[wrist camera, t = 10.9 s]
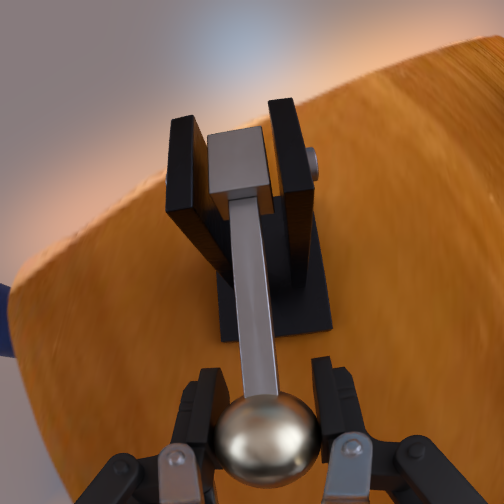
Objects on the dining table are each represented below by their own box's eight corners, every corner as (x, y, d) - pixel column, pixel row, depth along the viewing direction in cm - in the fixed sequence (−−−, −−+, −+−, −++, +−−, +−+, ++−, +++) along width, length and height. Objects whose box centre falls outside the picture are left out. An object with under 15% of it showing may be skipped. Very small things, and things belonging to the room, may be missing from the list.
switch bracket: (331, 330, 22) (384, 282, 8) (224, 343, 23) (122, 313, 9) (309, 198, 26) (311, 50, 12) (216, 212, 27) (147, 81, 13)
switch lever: (321, 463, 10) (328, 500, 7) (231, 469, 10) (207, 505, 7) (283, 164, 14) (277, 112, 11) (208, 176, 15) (185, 129, 11)
